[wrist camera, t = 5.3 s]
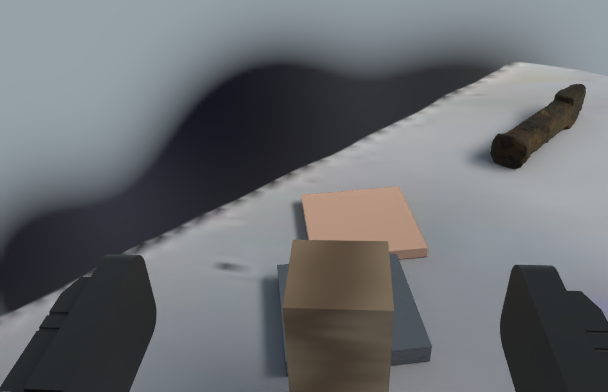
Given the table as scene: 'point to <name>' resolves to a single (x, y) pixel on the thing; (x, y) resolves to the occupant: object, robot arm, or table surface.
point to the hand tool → (538, 128)
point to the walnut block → (338, 316)
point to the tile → (365, 219)
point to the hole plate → (406, 325)
